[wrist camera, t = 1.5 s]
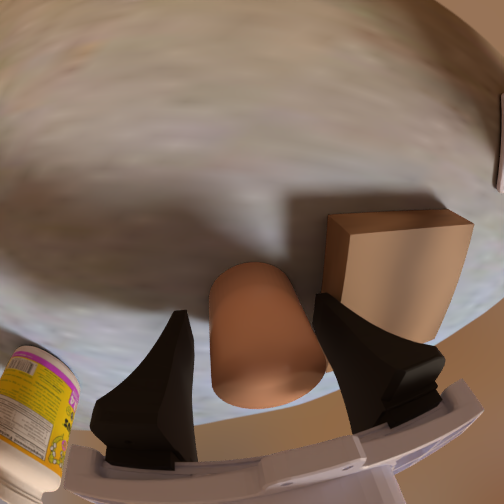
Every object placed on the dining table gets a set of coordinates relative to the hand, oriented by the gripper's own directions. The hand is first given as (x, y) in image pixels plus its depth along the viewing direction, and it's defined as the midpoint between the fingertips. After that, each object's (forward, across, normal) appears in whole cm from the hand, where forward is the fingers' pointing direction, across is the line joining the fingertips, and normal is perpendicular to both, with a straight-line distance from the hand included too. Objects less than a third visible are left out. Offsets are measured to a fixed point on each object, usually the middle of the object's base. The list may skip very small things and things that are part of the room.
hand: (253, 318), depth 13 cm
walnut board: (+2, -9, 0) cm, 9 cm away
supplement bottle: (+2, +17, +6) cm, 18 cm away
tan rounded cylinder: (+2, 0, 0) cm, 2 cm away
